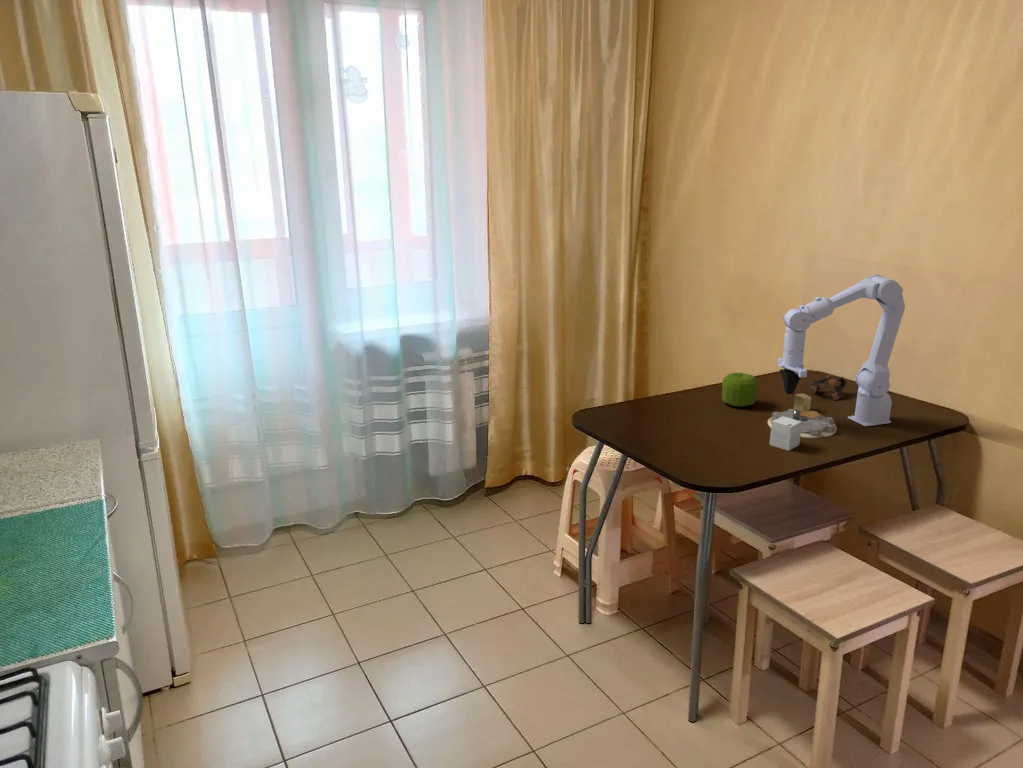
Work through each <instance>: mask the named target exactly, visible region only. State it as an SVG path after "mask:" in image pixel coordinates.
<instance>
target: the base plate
mask: <svg viewBox="0 0 1023 768" xmlns="http://www.w3.org/2000/svg"><path fill="white" fill-rule="evenodd" d="M772 419H775V418H772V416H771V417H769V418H768V420H767V425H768V427H769V428H770V429H771V427H772V424H771V420H772ZM831 425H834V430H833V431H832V432H829V431H823V432H819V433H818V435H810V434H809V433H802V432H801V434H800V439H801V438H802V439H823V438H829V437H832V436H833V435H835V434H836V433H837V431H838V427H837V424H835V423H834V422H833V424H831Z"/></svg>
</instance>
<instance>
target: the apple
mask: <svg viewBox="0 0 1023 768" xmlns="http://www.w3.org/2000/svg"><path fill="white" fill-rule="evenodd" d="M721 388H722V389H721V401H723V402H724V403H726V404H727V405H729V406H732V407H735V408H736V407H737V408H739V407H740V408H743V407H744V408H745V407H749V406H752V405H754V404H755V402H756V400H757V395H758V390H759V382H758V380H757V378H756V377H755V376H754V375H752V374H748V373H744V372H731V373H728V374H727V375H726V376H724V377H723V379H722V383H721Z"/></svg>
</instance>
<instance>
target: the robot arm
mask: <svg viewBox="0 0 1023 768" xmlns="http://www.w3.org/2000/svg"><path fill="white" fill-rule="evenodd" d="M903 292H904V288H903V287H902V286H901V284H900V283H899V282H897V281H896V280H893V279H889V278H887V277H884V276H882V275H880V274H874V275H871V276H869V277H866V278H862V280H860V281H858V282H857V283H855V284H854V285H852V286H850V287H848V288H846V289H844V290H842V291H840V292H839V293H837V294H835V295H833V296H831V297H829V298H828V297H824V296H822V297H820V296H816V297H815V298H814V300H813V301H811V302H809V303H807V304H805V305H803V304H800V305H799V308H791V309H789V310H787V312H786V313H785V315H784V316H783V317H782V321H783V324H784V325H785V333H784V338H783V339H784V342H783V352H782V356H781V357H778V358H777V365H778V367H779V368H781V369H779V374H780V375H781V377H782V378H781V379H782V381H783V387H784V393H785V394H787V395H795V394H794V393H795V391H796V389H797V386H798V384H799V382H800V380H801V379H802V378H807V375H808V370H806V368H805V366H804V356H805V345H806V336H807V335H806V334H807V333H806V332H807V330H808V329H809V328H810V325H812V324H814V323H816V322H818V321H821V320H822V319H825V318H827V317H829V316H832V314H833V313H834V310H835V309H838V308H840V307H842V306H845V305H846V304H849V303H852V302H855V301H857V300H859V299H868V300H869V299H871V300H876V302H877V303H878V304H879V306H880V307H881V309H882V313H881V317H880V320H879V323H878V326H877V328H876V329H877V330H876V333H875V337H874V339H873V343H872V346H871V348H870V353H869V356H868V360H866V361H865V362H863V363H862V366H861V368H860V370H859V371H858V372H857V373H856V376H855V383H856V385H857V386H858V389H857V394H856V395H857V396H856V400H855V401H856V403H855V410H854V415H850V416H849V415H848V416H847V419H849V420H851V421H853V422H855V423H857V424H859V425H861V426H864V427H872V426H879V425H884V424H885V425H886V424H891V423H892V421H891V420H890V416H891V409H892V405H893V402H892V398H891V397H892V396H890V394H889V393H888V392H889V389H890V387H891V386H890V385H891V383H890V376H891V372H890V369H889V362H890V358H891V355H892V352H893V348H894V346H895V345H894V344H895V342H896V338H897V335H898V332H899V328H900V325H901V322H902V319H903V316H904V313H905V309H906V304H905V299H904V296H903Z"/></svg>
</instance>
